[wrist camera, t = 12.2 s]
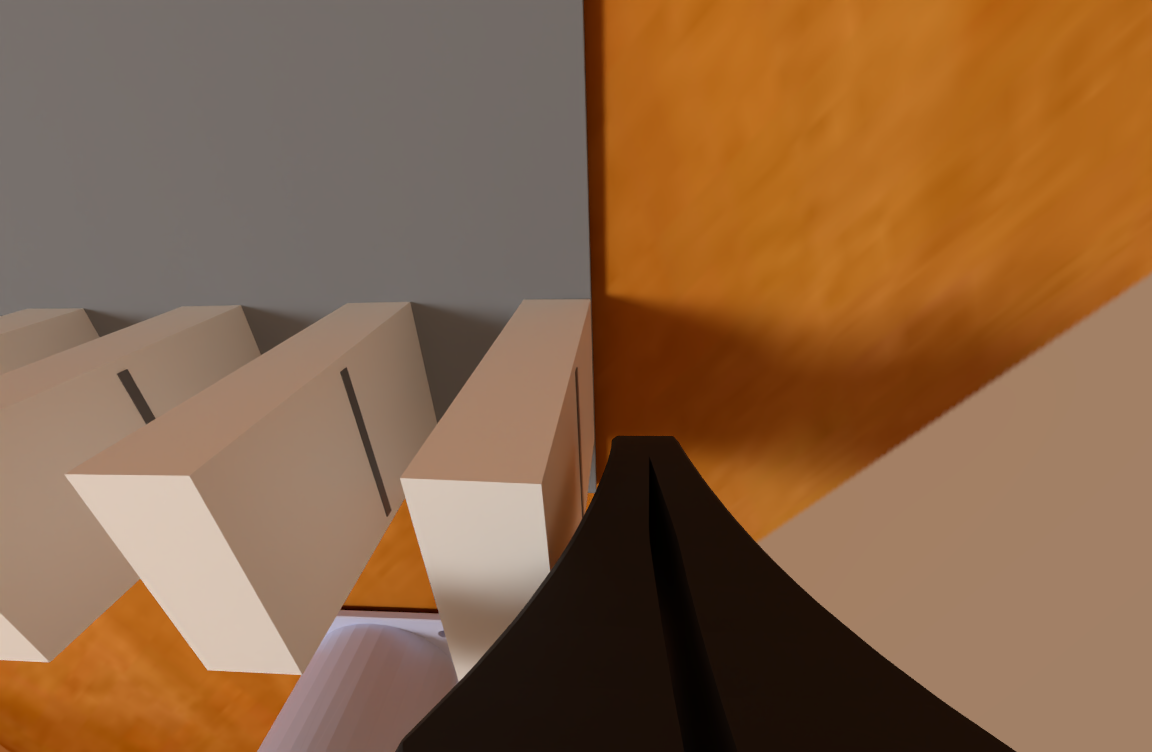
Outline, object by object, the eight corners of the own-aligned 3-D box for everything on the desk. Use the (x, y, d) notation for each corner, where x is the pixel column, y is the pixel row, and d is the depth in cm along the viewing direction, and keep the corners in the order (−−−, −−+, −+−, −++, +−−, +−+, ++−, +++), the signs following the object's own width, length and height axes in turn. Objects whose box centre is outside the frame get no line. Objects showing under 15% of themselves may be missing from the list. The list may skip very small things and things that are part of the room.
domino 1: (241, 305, 14) (-141, 472, 7) (294, 436, 16) (51, 662, 9) (181, 306, 14) (-254, 470, 7) (242, 435, 16) (-38, 658, 9)
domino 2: (411, 301, 13) (191, 475, 6) (441, 437, 16) (304, 675, 9) (346, 303, 14) (62, 473, 7) (385, 436, 16) (206, 670, 9)
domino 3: (591, 299, 13) (543, 484, 6) (595, 439, 15) (563, 692, 8) (522, 299, 13) (397, 477, 6) (536, 437, 16) (457, 681, 8)
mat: (596, 482, 17) (596, 492, 16) (-7, 474, 19) (-25, 483, 19) (581, -88, 10) (579, -101, 9) (-400, 0, 12) (-448, -7, 11)
